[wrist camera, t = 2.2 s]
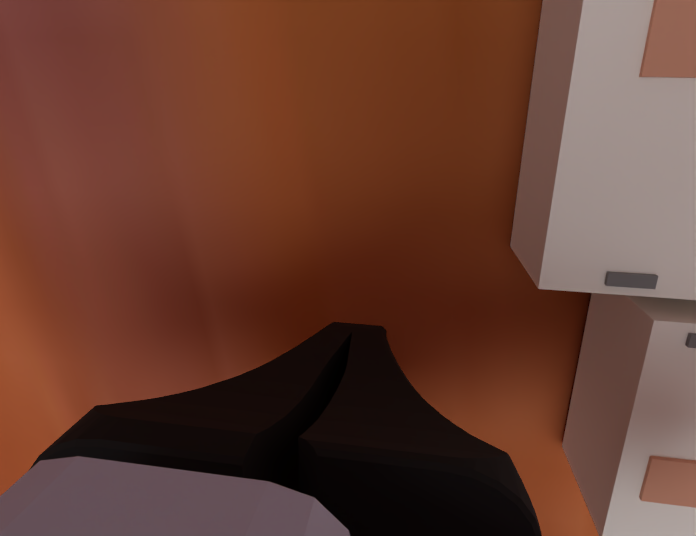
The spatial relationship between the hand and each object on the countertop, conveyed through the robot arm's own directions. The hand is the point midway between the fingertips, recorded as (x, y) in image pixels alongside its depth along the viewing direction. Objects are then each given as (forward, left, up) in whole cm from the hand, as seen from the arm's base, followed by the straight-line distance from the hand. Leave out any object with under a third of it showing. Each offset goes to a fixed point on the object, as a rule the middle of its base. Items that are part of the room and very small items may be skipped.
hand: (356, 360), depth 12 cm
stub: (-8, 0, -1) cm, 8 cm away
